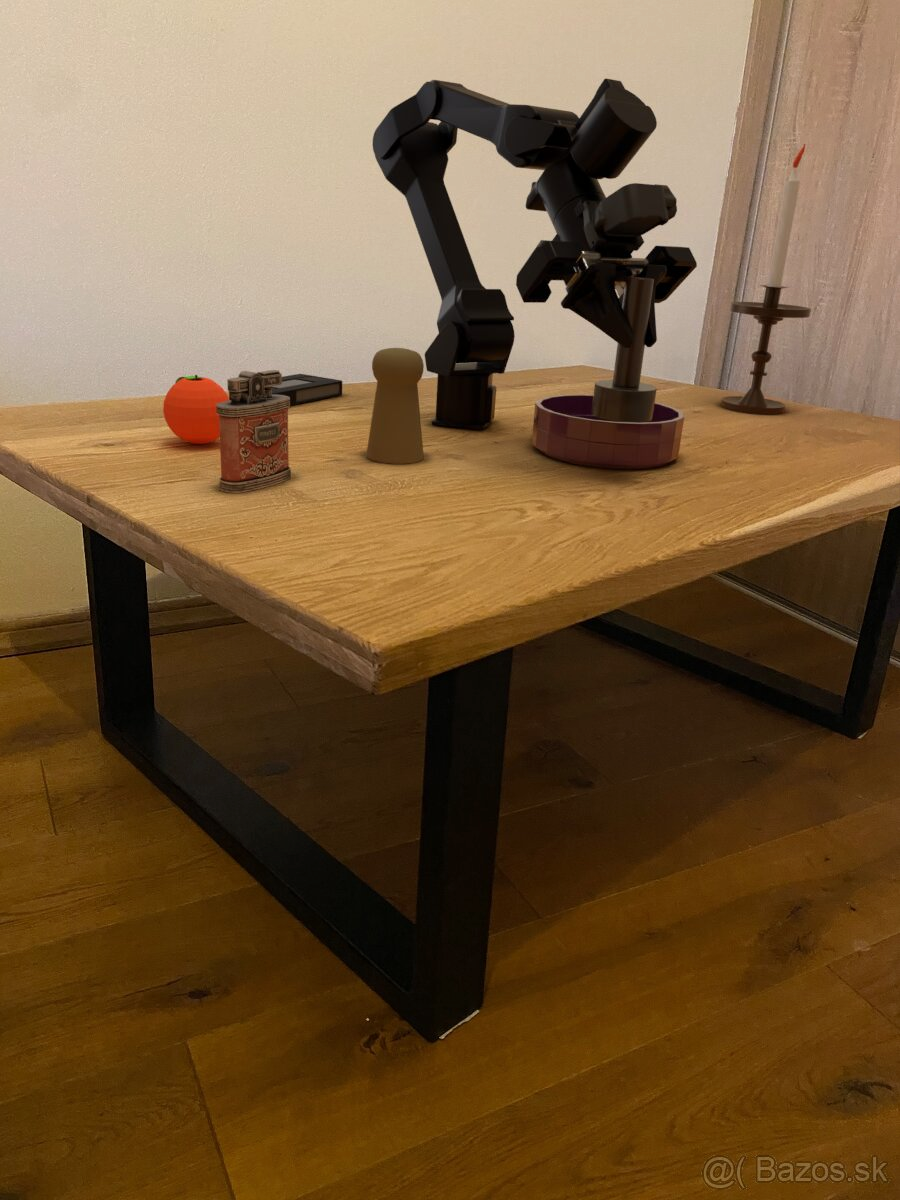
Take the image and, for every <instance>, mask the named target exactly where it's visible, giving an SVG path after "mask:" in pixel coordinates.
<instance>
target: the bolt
mask: <svg viewBox="0 0 900 1200" xmlns="http://www.w3.org/2000/svg"><path fill="white" fill-rule="evenodd" d="M653 284H654V279H653V278H646V277H633V276H628V277H626V282H625V289H624V297H623V305H622V308H623V311H624V313H625V316H626V318H627V321H628V323H629V326H630V329H631V332H632V336H633V339H634V342H633V344H632V345H631V346H630V347H629V348H624V347H623V346H621V345H620V344H619V343H617V346H616V353H615V361H614V369H613V377H612V379H602V380H597V381H595V382H594V388H593V394H592V395H593V403H592V412H591V413H592V415H594V416H596V417H599V418H602V419H606V420H612V421H619V422H647V421H651V420H652V418H653V411H654V404H655V403H656V398H657V397H656V396H657V390H658V389H657V387H656V386H654V385H652V384H649V383H644V382H641V375H642V369H643V362H644V356H645V355H644V354H645V347H646V345H645V341H646V334H647V327H648V319H649V312H650V305H651V298H652V291H653Z"/></svg>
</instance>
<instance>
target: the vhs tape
mask: <svg viewBox="0 0 900 1200" xmlns="http://www.w3.org/2000/svg"><path fill="white" fill-rule="evenodd" d="M271 389H272V394H276V395H285V396H288V397H290V406H294V405H298V404H299V405H300V404H304V403H309V402H315V401H318V400H323V399H329V398H333V397H338V396H342V395H343V380H341V379H337V378H335V379H334V378H330V377H325V376H324V377H323V376H317V375H310V374H305V373H296V374H290V375H284V376H283V375H282V385H277V386H271ZM228 397H229V400H231V397H230V395H229V394H228Z"/></svg>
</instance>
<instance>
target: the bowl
mask: <svg viewBox="0 0 900 1200" xmlns="http://www.w3.org/2000/svg"><path fill="white" fill-rule="evenodd" d="M593 395H594V394H583V393H582V394H559V395H551V396H546V397H541V398H538V399H537V400H536V402H535V403H534V413H533V422H532V434H531V444H532V445H533V446H534V447H535V448H536V449H538V450H539V451H540V452H541V453H542V454H543V455H546V456H547V457H549V458H552V459H555V460H558V461H561V462H564V463H568V464H574V465H578V466H585V467H591V468H599V469H610V470H611V469H612V470H643V469H653V468H658V467H662V466H665V465H667V464H669V462H672V461H674V460H676V459H678V458H679V455H680V450H681V449H680V448H681V442H682V434H683V429H684V422H685V413H684V412H683V411H681V410H680V409H678V408H676V407H674V406H670V405H666V404H663V403H660V402H655V404H654V411H653V418H652V420H651V421H647V422H619V421H612V420H606V419H602V418H599V417H596V416H594V415H592V413H591V412H592V403H593Z"/></svg>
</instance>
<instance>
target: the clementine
mask: <svg viewBox="0 0 900 1200" xmlns="http://www.w3.org/2000/svg"><path fill="white" fill-rule="evenodd" d="M174 382H175V383H174V384H172V386H171V387H170V388H169V390H168V391H167V392H166V395H165V398H164V400H163V407H162V411H163V417H164V421H165V422H166V425H167V426H168V428H169V430H171V432H172V433H173V434H174V435H175V437H178V438H179V439H180V440H182V441H184V442H187V443H190V444H195V445H205V444H209V443H211V442H214V441H216V440H217V439H220V428H219V415H218V414H217V409H216V404H218V403H221V402H225V401H229V394H228V393H227V392H226V391H225V390H224V388H223V387H222V386H221V385H220V384H218V383H217V382H216V381H215V380H212V379H211V378H208V377H202V376H198V374H194V375H188V376H187V375H186V376H179V377H177V379H176V380H175V381H174Z"/></svg>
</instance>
